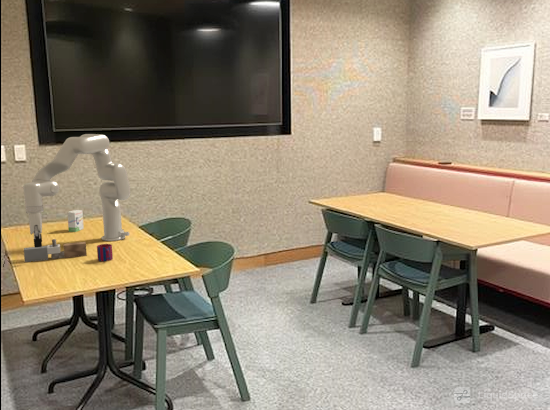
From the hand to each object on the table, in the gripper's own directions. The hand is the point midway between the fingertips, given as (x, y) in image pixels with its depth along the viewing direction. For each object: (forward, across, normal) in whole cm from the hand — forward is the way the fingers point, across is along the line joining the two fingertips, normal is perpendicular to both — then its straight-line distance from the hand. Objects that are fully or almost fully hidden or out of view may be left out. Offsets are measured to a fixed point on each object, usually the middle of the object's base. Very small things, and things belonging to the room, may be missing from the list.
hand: (38, 244), depth 247 cm
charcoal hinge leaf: (+7, 0, +1) cm, 7 cm away
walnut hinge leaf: (+7, 0, +13) cm, 15 cm away
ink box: (+8, -61, +19) cm, 65 cm away
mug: (+8, +15, +28) cm, 33 cm away
